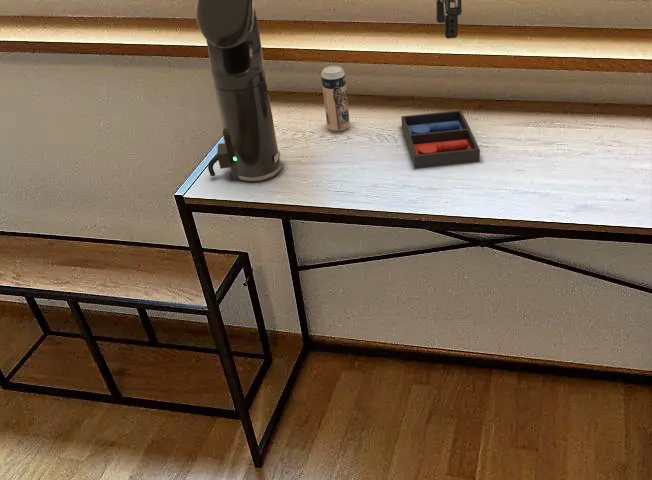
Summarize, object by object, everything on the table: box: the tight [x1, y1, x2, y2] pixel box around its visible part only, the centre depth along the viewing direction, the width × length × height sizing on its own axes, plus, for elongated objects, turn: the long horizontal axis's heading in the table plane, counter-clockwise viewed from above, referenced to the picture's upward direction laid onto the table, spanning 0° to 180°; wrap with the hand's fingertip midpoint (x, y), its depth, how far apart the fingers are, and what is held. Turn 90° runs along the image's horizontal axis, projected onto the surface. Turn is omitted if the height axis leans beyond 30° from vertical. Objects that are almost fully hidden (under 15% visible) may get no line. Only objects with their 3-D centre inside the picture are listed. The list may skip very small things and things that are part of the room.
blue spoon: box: [412, 121, 460, 134], centre depth 143 cm, size 10×4×2 cm, turn 98°
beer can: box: [320, 65, 351, 132], centre depth 144 cm, size 5×5×12 cm
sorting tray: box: [400, 109, 481, 169], centre depth 140 cm, size 13×18×2 cm
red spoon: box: [418, 141, 468, 155], centre depth 137 cm, size 10×4×2 cm, turn 98°
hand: (446, 29), depth 130 cm, fingers open, 8 cm apart
